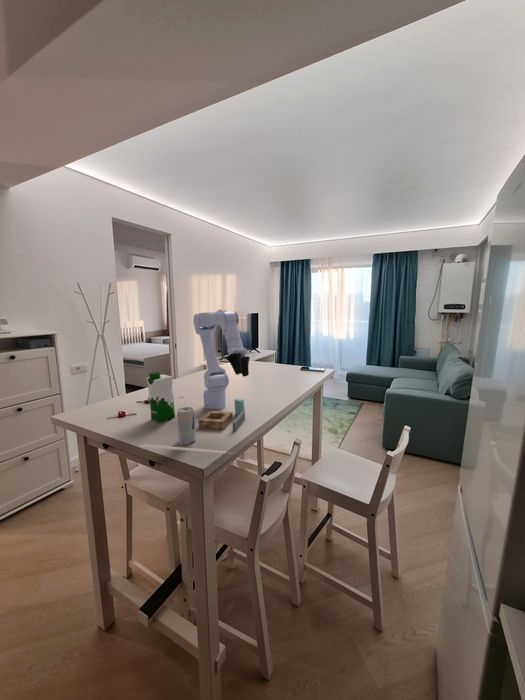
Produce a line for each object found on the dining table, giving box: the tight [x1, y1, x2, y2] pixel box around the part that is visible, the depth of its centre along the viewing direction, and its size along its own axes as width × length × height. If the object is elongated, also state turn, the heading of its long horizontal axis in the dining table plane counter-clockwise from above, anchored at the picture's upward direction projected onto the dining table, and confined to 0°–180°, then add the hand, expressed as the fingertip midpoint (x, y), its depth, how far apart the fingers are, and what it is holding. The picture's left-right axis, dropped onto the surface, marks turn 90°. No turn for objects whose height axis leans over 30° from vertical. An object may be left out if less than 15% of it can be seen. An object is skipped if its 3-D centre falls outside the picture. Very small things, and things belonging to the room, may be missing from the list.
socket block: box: [198, 410, 234, 430], centre depth 117 cm, size 10×10×3 cm
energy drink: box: [176, 406, 197, 446], centre depth 102 cm, size 5×5×12 cm
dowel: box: [234, 397, 246, 417], centre depth 126 cm, size 4×4×7 cm
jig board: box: [232, 411, 246, 433], centre depth 117 cm, size 20×12×4 cm, turn 76°
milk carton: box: [145, 371, 176, 424], centre depth 124 cm, size 9×9×20 cm
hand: (242, 375), depth 112 cm, fingers open, 7 cm apart
